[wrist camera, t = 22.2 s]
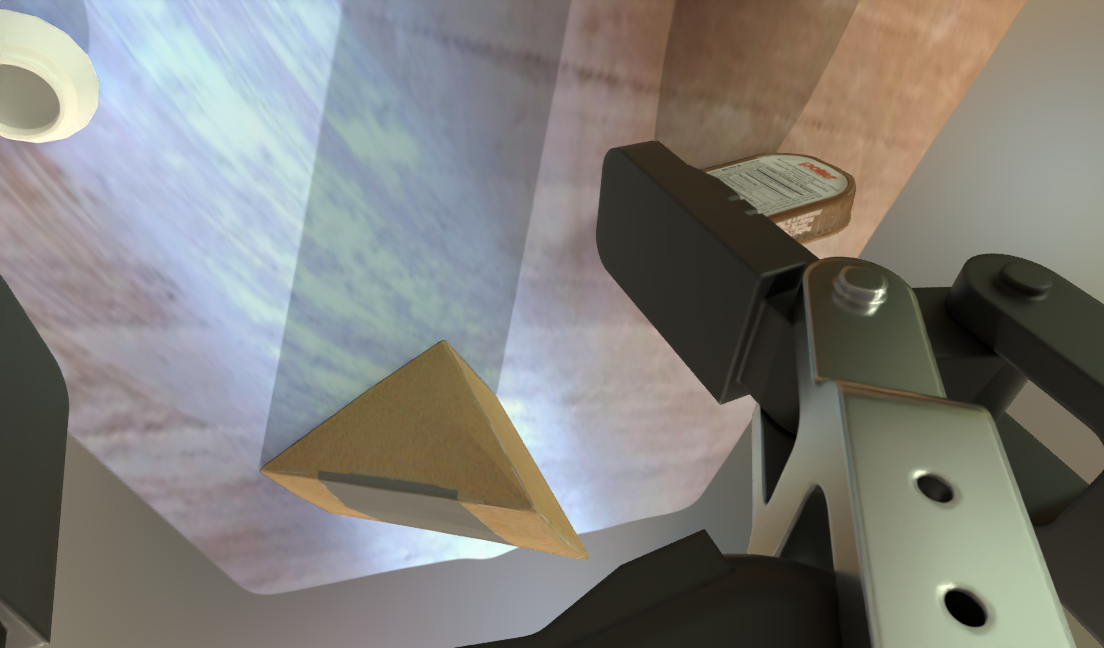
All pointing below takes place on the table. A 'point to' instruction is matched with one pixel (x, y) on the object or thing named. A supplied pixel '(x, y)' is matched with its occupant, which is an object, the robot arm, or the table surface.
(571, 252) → the table surface
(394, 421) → the sandwich container
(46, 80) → the cream truncated cone
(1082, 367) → the robot arm
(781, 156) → the tin
